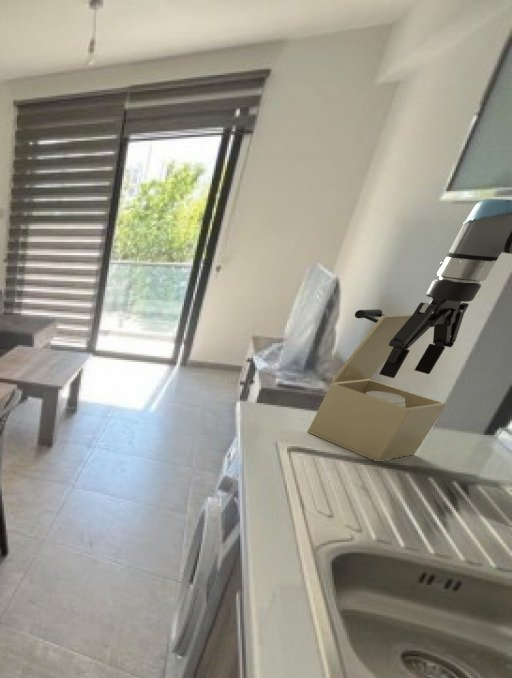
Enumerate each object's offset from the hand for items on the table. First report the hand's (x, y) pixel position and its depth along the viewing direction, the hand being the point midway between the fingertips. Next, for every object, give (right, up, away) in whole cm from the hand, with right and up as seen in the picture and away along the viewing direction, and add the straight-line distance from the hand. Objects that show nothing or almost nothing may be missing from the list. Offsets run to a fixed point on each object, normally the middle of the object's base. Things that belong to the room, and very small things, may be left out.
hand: (404, 374), depth 113 cm
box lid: (-2, +7, +4) cm, 8 cm away
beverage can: (-1, -16, +9) cm, 18 cm away
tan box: (-1, -16, +10) cm, 19 cm away
